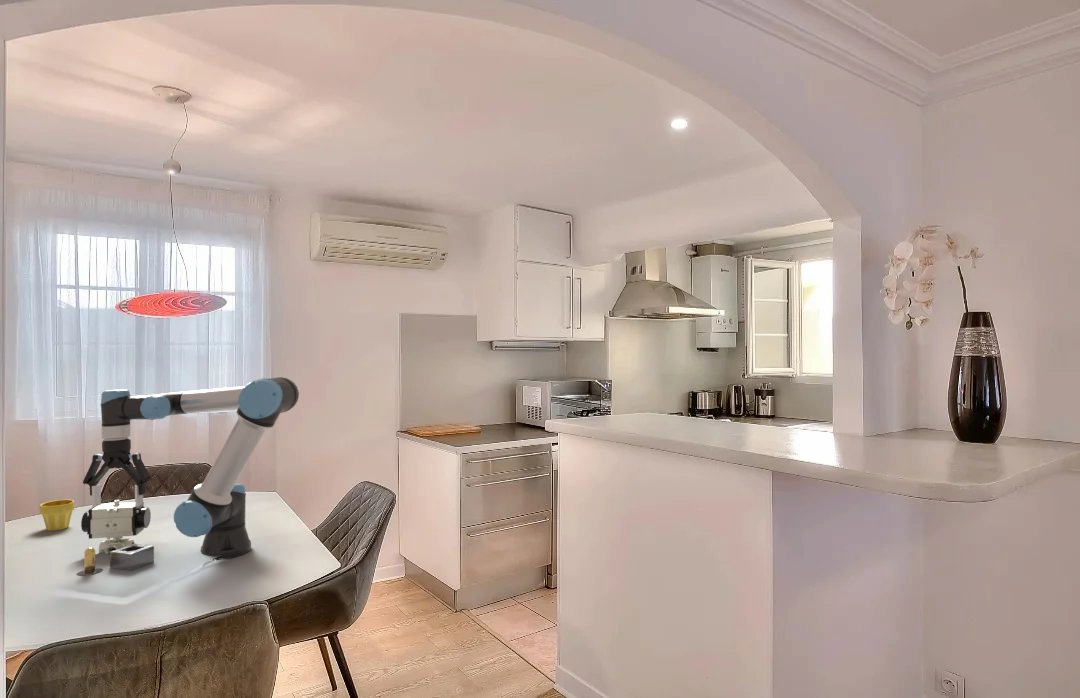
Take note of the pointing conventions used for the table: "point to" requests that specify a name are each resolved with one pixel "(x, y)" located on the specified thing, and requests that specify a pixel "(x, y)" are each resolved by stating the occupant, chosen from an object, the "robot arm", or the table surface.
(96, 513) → the ball valve
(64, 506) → the plant pot
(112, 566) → the grey square box
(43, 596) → the table surface
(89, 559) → the door knob
